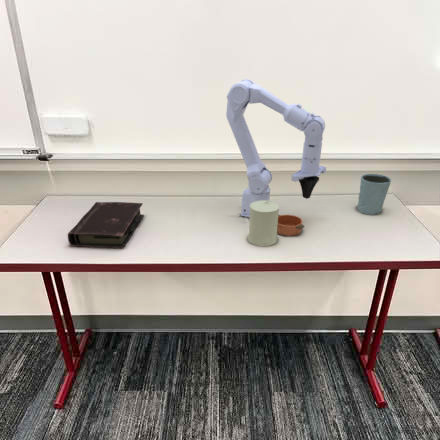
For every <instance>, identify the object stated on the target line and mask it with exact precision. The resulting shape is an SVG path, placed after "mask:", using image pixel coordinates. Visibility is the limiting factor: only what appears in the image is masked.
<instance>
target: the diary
mask: <svg viewBox="0 0 440 440" xmlns="http://www.w3.org/2000/svg"><path fill="white" fill-rule="evenodd" d="M142 206H143V202H129V201H128V202H126V201H125V202H124V201H96V202H95V203H94V204H93V205H92V206H91V207H90V209H89V210H88V211H87V212H86V213H85V214H84V215H83V216H82V217H81V219H79V221H78V222H77V223H76V225H74V227H73V228H71V229H70V230H69V231H68V233H67V241H68V243H69V245H70V246H71V247H91V248H108V249H109V248H114V249H115V248H123V247H125V246H126V245H127V243H128V242H129V241H130V239H131V237H132V235H133V234H134V232H135V230H136V229H137V228H138V227H139V225H140V224H141V221H142V219H143V218H144V216H145V214H141V207H142Z"/></svg>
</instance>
